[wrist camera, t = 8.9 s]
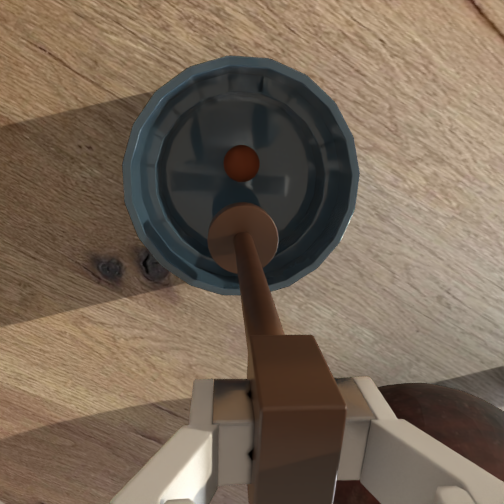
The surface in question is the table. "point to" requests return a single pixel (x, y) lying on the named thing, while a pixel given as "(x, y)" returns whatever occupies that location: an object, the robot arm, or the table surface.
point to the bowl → (226, 189)
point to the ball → (241, 163)
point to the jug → (441, 429)
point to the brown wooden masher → (280, 374)
